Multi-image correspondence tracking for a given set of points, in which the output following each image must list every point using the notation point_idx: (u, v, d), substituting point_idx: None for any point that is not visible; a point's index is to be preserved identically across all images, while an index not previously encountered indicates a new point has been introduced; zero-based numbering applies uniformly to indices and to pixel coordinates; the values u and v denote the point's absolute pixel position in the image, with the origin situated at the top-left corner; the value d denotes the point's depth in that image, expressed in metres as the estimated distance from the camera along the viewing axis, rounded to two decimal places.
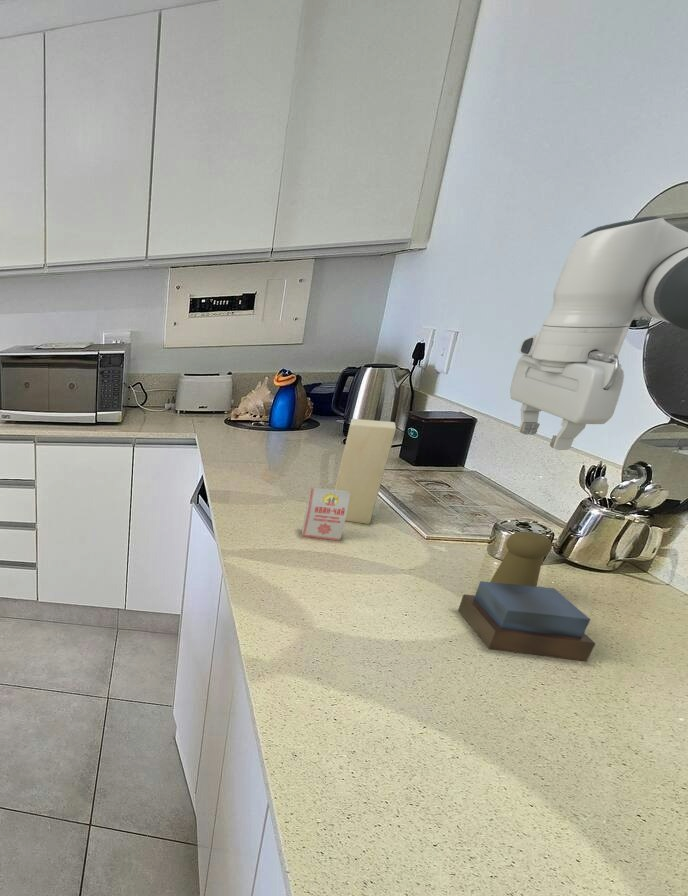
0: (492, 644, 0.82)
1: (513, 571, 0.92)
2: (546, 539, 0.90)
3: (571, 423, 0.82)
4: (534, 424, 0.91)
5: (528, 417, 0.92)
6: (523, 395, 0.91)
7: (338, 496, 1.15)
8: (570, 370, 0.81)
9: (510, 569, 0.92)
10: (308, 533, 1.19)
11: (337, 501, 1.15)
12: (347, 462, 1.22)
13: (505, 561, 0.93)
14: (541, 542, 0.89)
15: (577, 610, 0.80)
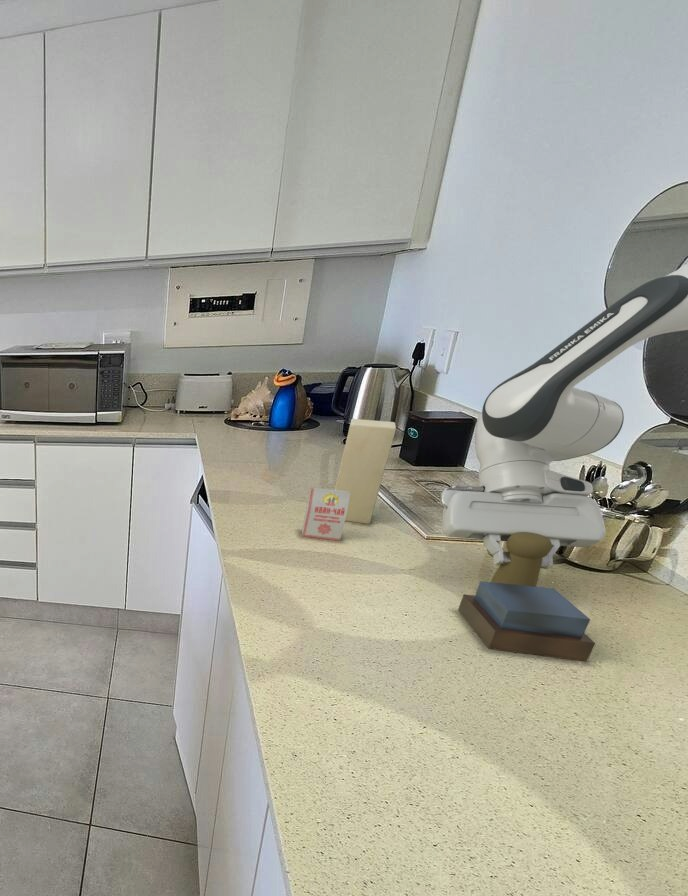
0: (492, 644, 0.82)
1: (513, 571, 0.92)
2: (546, 539, 0.90)
3: (484, 540, 0.96)
4: None
5: None
6: None
7: (338, 496, 1.15)
8: None
9: (510, 569, 0.92)
10: (308, 533, 1.19)
11: (337, 501, 1.15)
12: (347, 462, 1.22)
13: None
14: (540, 542, 0.89)
15: (577, 610, 0.80)
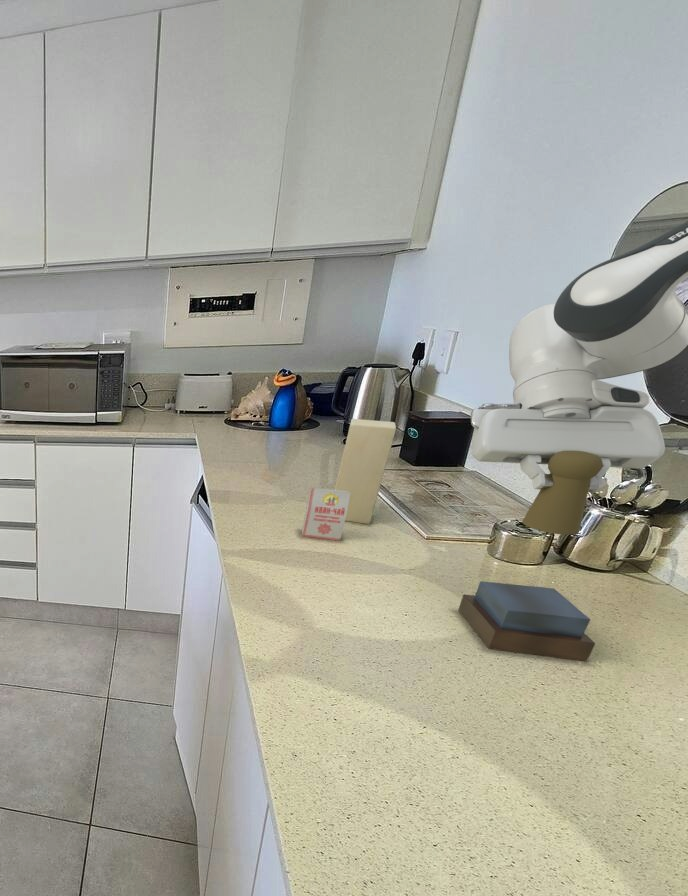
0: (492, 644, 0.82)
1: (556, 496, 0.80)
2: (596, 456, 0.78)
3: (522, 463, 0.84)
4: None
5: None
6: None
7: (338, 496, 1.15)
8: None
9: (552, 493, 0.80)
10: (308, 533, 1.19)
11: (337, 501, 1.15)
12: (347, 462, 1.22)
13: None
14: (590, 459, 0.77)
15: (577, 610, 0.80)
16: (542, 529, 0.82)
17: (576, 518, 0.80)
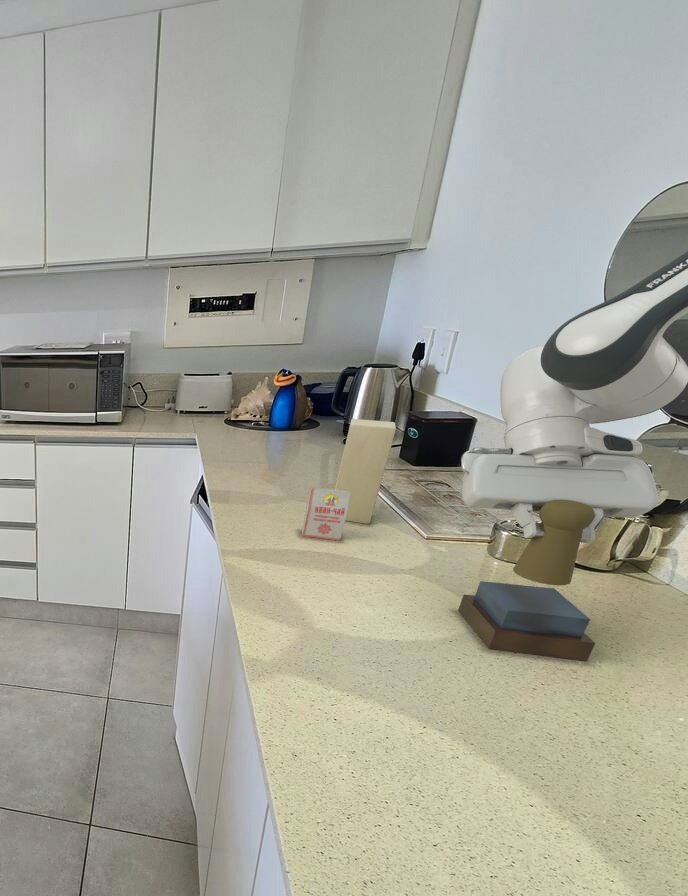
0: (492, 644, 0.82)
1: (548, 546, 0.78)
2: (588, 507, 0.76)
3: (513, 510, 0.82)
4: None
5: None
6: None
7: (338, 496, 1.15)
8: None
9: (543, 543, 0.79)
10: (308, 533, 1.19)
11: (337, 501, 1.15)
12: (347, 462, 1.22)
13: None
14: (582, 510, 0.75)
15: (577, 610, 0.80)
16: (533, 579, 0.80)
17: (568, 569, 0.78)
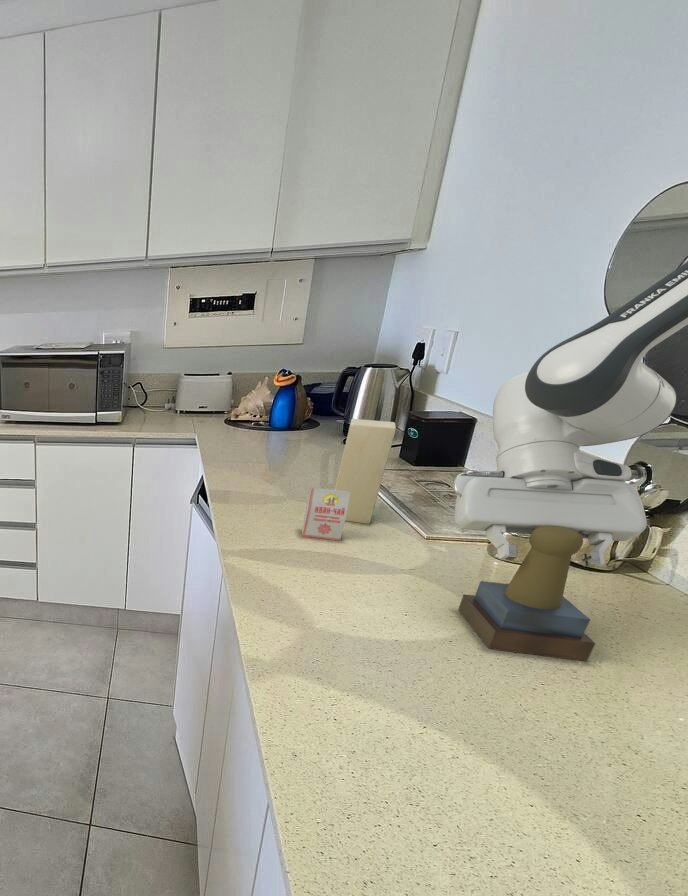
0: (492, 644, 0.82)
1: (538, 571, 0.80)
2: (576, 533, 0.77)
3: (487, 532, 0.84)
4: (587, 553, 0.79)
5: (594, 549, 0.79)
6: None
7: (338, 496, 1.15)
8: None
9: (533, 568, 0.80)
10: (308, 533, 1.19)
11: (337, 501, 1.15)
12: (347, 462, 1.22)
13: (528, 559, 0.81)
14: (570, 536, 0.77)
15: (577, 610, 0.80)
16: (524, 603, 0.81)
17: (557, 594, 0.80)
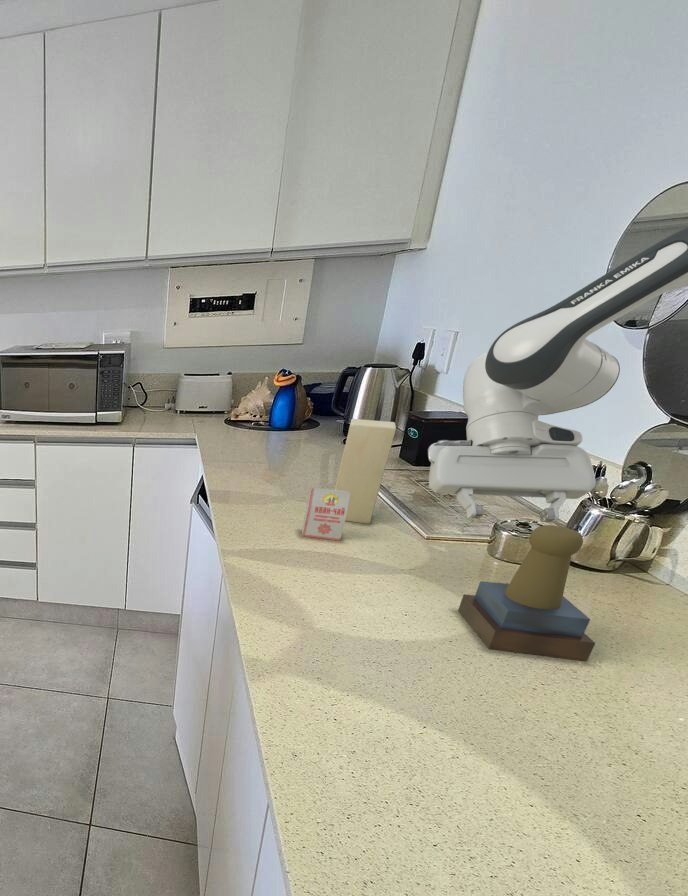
0: (492, 644, 0.82)
1: (538, 571, 0.80)
2: (576, 533, 0.77)
3: (457, 494, 0.94)
4: (544, 510, 0.89)
5: (550, 507, 0.90)
6: None
7: (338, 496, 1.15)
8: None
9: (533, 568, 0.80)
10: (308, 533, 1.19)
11: (337, 501, 1.15)
12: (347, 462, 1.22)
13: (528, 559, 0.81)
14: (570, 536, 0.77)
15: (577, 610, 0.80)
16: (524, 603, 0.81)
17: (557, 594, 0.80)
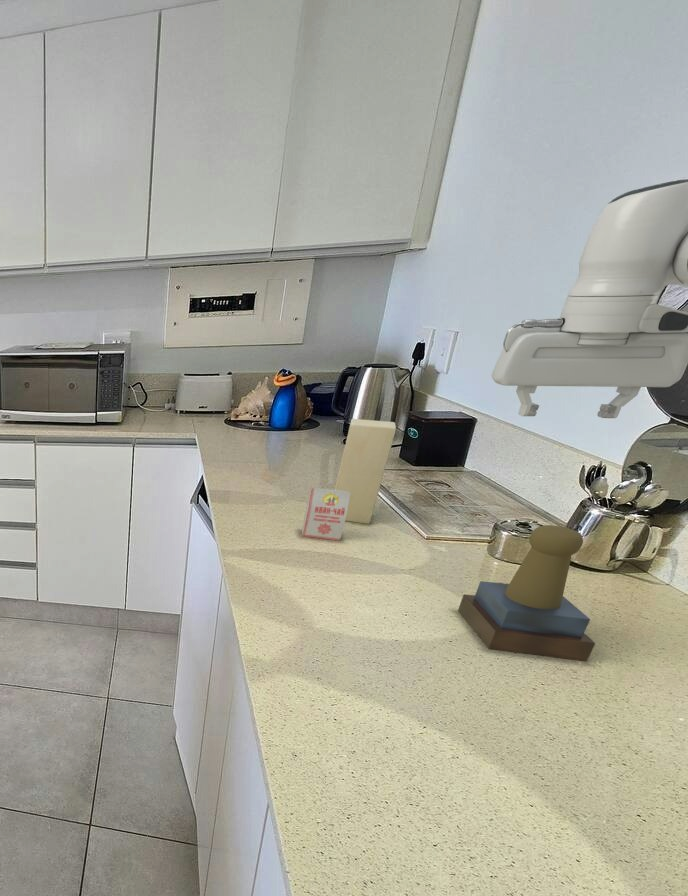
0: (492, 644, 0.82)
1: (538, 571, 0.80)
2: (576, 533, 0.77)
3: (518, 387, 0.87)
4: (606, 406, 0.84)
5: (616, 400, 0.84)
6: None
7: (338, 496, 1.15)
8: None
9: (533, 568, 0.80)
10: (308, 533, 1.19)
11: (337, 501, 1.15)
12: (347, 462, 1.22)
13: (528, 559, 0.81)
14: (570, 536, 0.77)
15: (577, 610, 0.80)
16: (524, 603, 0.81)
17: (557, 594, 0.80)
